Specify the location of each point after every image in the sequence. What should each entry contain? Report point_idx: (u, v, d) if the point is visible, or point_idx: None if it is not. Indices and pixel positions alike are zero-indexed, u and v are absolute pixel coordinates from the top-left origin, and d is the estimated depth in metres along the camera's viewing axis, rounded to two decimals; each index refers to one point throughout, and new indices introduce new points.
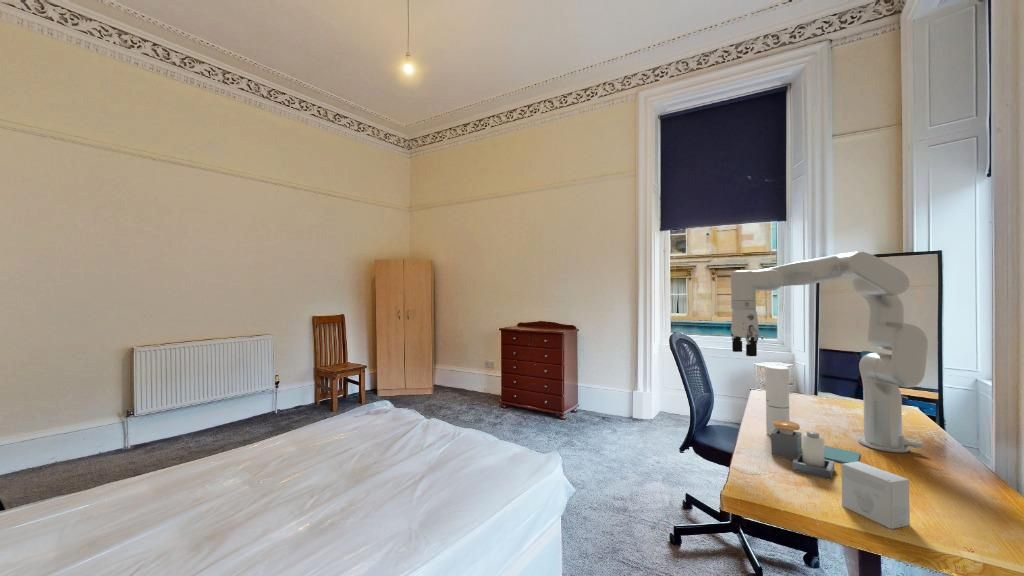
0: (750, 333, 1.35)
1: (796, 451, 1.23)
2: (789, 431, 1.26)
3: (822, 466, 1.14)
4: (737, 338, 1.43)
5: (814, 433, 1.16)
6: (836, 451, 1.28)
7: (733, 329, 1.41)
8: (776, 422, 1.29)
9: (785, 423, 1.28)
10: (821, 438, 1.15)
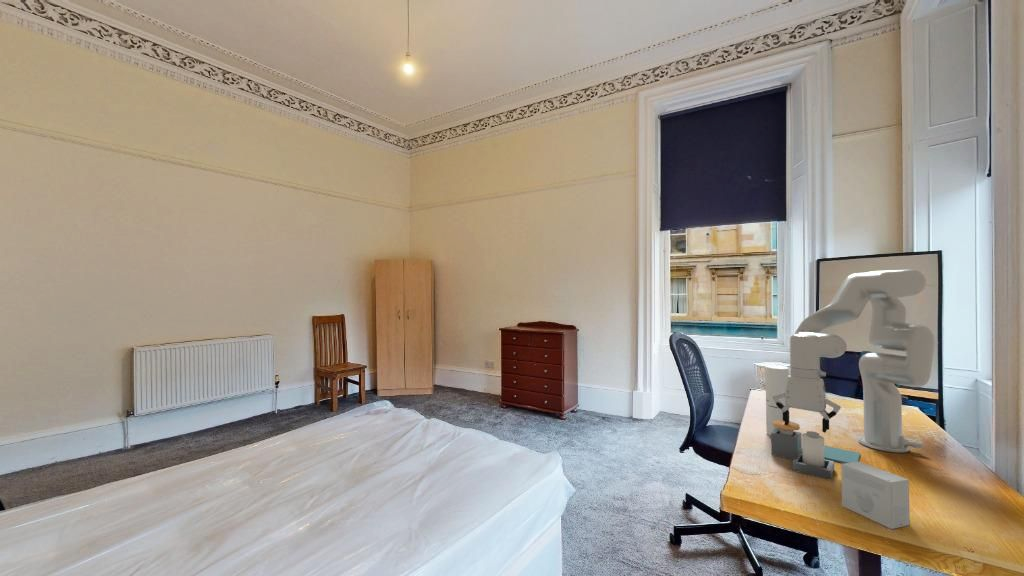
0: None
1: (796, 451, 1.23)
2: (789, 431, 1.26)
3: (822, 466, 1.14)
4: None
5: (814, 433, 1.16)
6: (836, 451, 1.28)
7: (793, 400, 1.25)
8: (776, 422, 1.29)
9: None
10: (821, 438, 1.15)
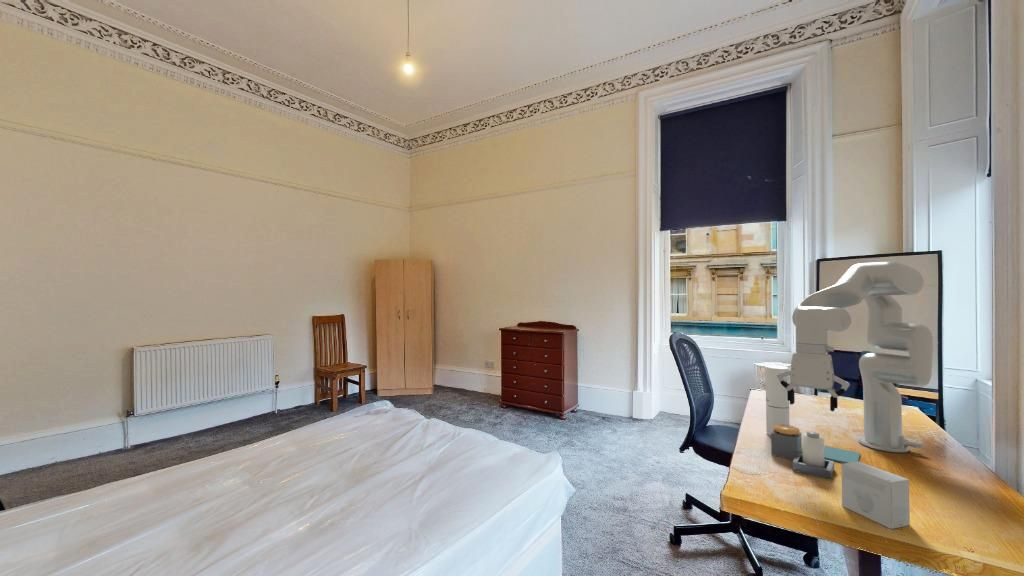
0: None
1: (796, 451, 1.23)
2: (789, 435, 1.26)
3: (822, 466, 1.14)
4: None
5: (814, 433, 1.16)
6: (836, 451, 1.28)
7: (798, 378, 1.17)
8: (776, 426, 1.29)
9: (785, 427, 1.28)
10: (821, 438, 1.15)
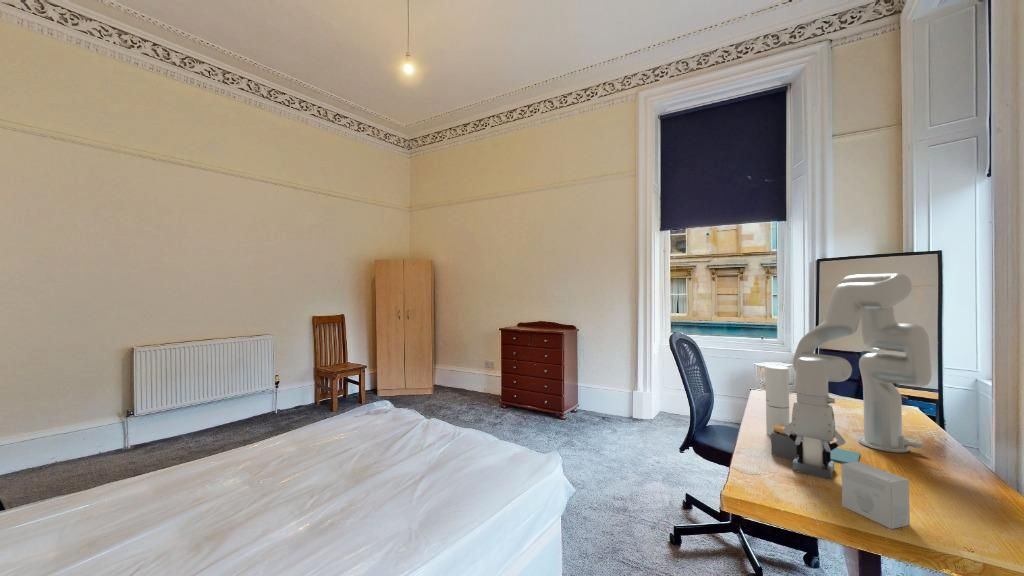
0: None
1: (796, 451, 1.23)
2: None
3: (822, 466, 1.14)
4: None
5: None
6: (836, 451, 1.28)
7: (799, 428, 1.17)
8: (776, 426, 1.29)
9: None
10: None
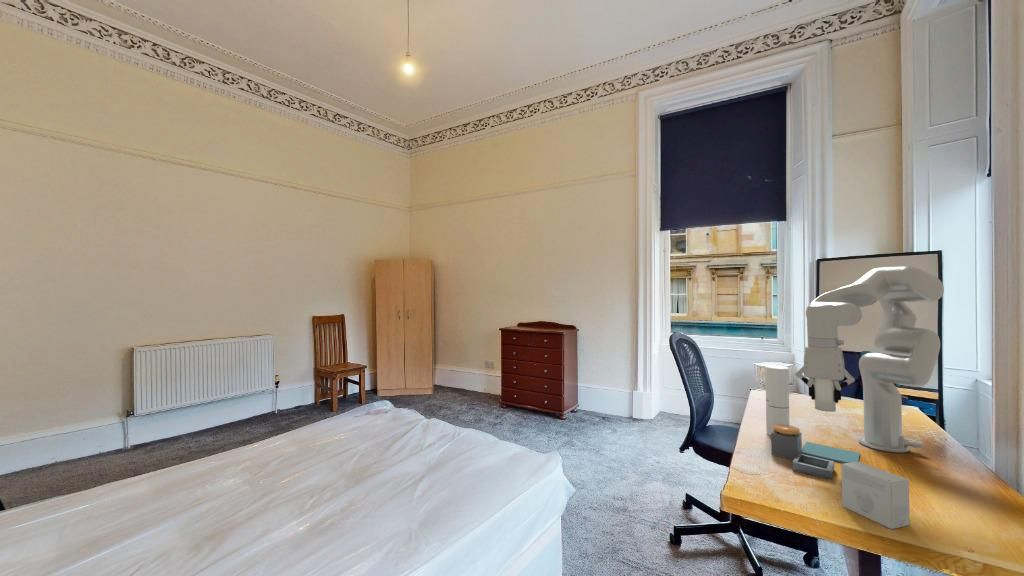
0: None
1: (796, 451, 1.23)
2: (789, 435, 1.26)
3: (833, 404, 1.22)
4: None
5: None
6: (836, 451, 1.28)
7: (811, 371, 1.24)
8: (776, 426, 1.29)
9: (785, 427, 1.28)
10: None
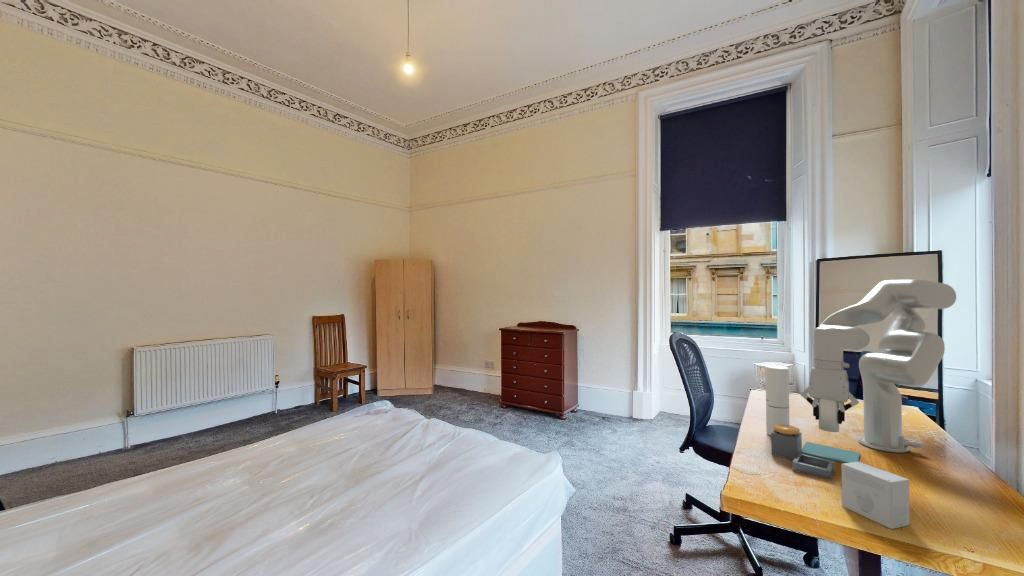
0: None
1: (796, 451, 1.23)
2: (789, 435, 1.26)
3: (837, 425, 1.25)
4: None
5: None
6: (836, 451, 1.28)
7: (816, 391, 1.28)
8: (776, 426, 1.29)
9: (785, 427, 1.28)
10: None
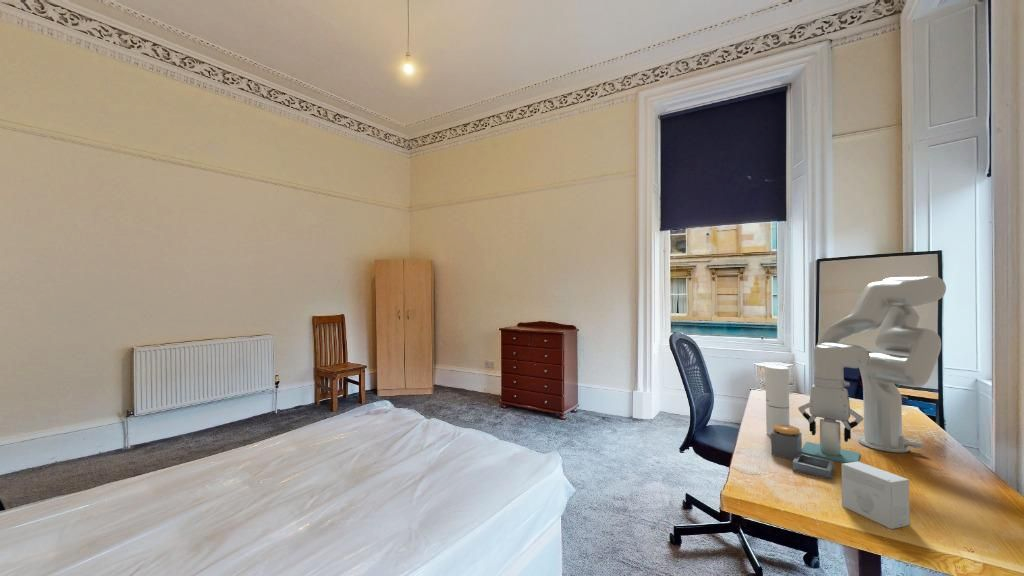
0: None
1: (796, 451, 1.23)
2: (789, 435, 1.26)
3: (838, 448, 1.25)
4: None
5: None
6: None
7: (817, 410, 1.28)
8: (776, 426, 1.29)
9: (785, 427, 1.28)
10: (837, 422, 1.26)
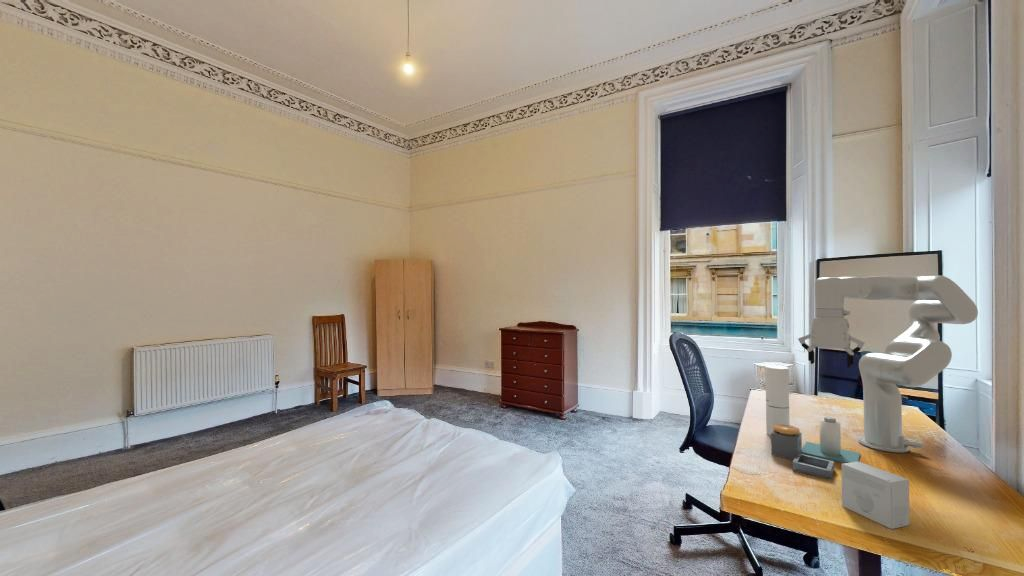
0: None
1: (796, 451, 1.23)
2: (789, 435, 1.26)
3: (838, 448, 1.25)
4: None
5: (831, 418, 1.27)
6: None
7: (818, 340, 1.32)
8: (776, 426, 1.29)
9: (785, 427, 1.28)
10: (837, 423, 1.26)
